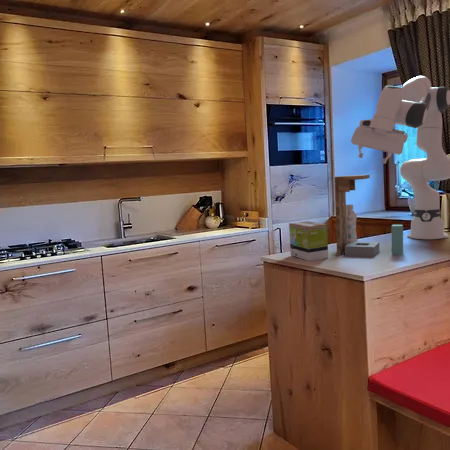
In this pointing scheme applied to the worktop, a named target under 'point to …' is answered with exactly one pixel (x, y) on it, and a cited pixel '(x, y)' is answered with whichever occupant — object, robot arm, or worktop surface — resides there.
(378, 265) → the worktop surface
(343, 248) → the wooden post stand
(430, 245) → the worktop surface
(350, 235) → the plastic bottle
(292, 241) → the tea box
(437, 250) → the worktop surface
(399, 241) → the peg
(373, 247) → the socket block
